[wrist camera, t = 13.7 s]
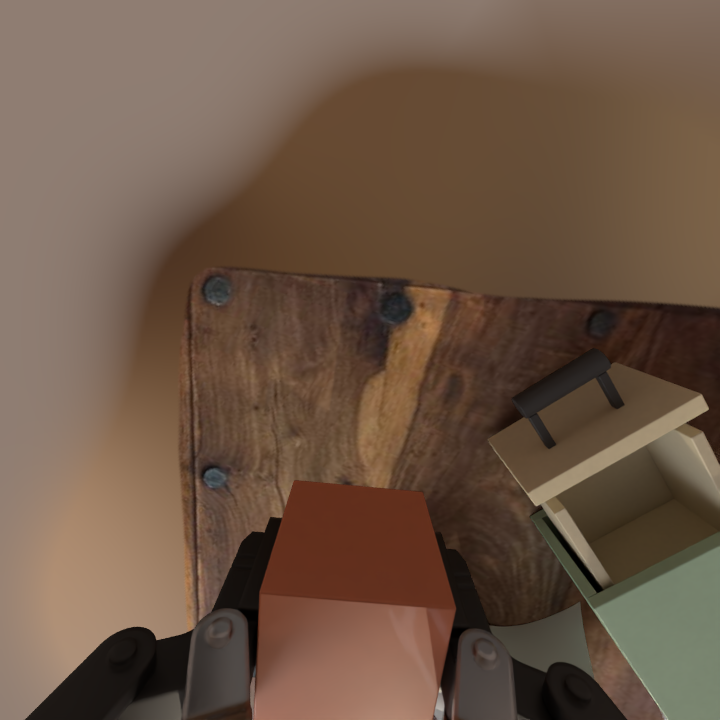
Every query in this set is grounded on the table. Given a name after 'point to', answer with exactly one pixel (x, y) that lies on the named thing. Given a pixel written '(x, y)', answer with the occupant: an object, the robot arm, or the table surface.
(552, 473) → the drawer
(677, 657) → the cabinet
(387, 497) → the block
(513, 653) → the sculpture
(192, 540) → the table surface
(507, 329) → the table surface
